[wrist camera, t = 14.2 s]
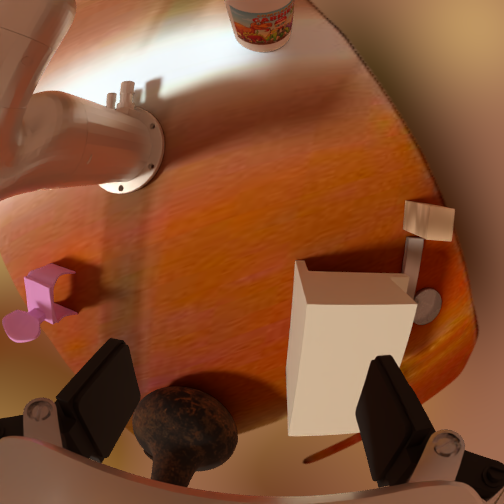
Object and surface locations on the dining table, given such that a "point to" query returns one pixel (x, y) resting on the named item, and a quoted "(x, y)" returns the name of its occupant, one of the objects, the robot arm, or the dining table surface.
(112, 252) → the dining table surface
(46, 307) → the toy chair
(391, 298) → the white box on stand
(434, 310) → the token
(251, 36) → the milk bottle
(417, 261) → the tool
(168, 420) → the glass bottle
